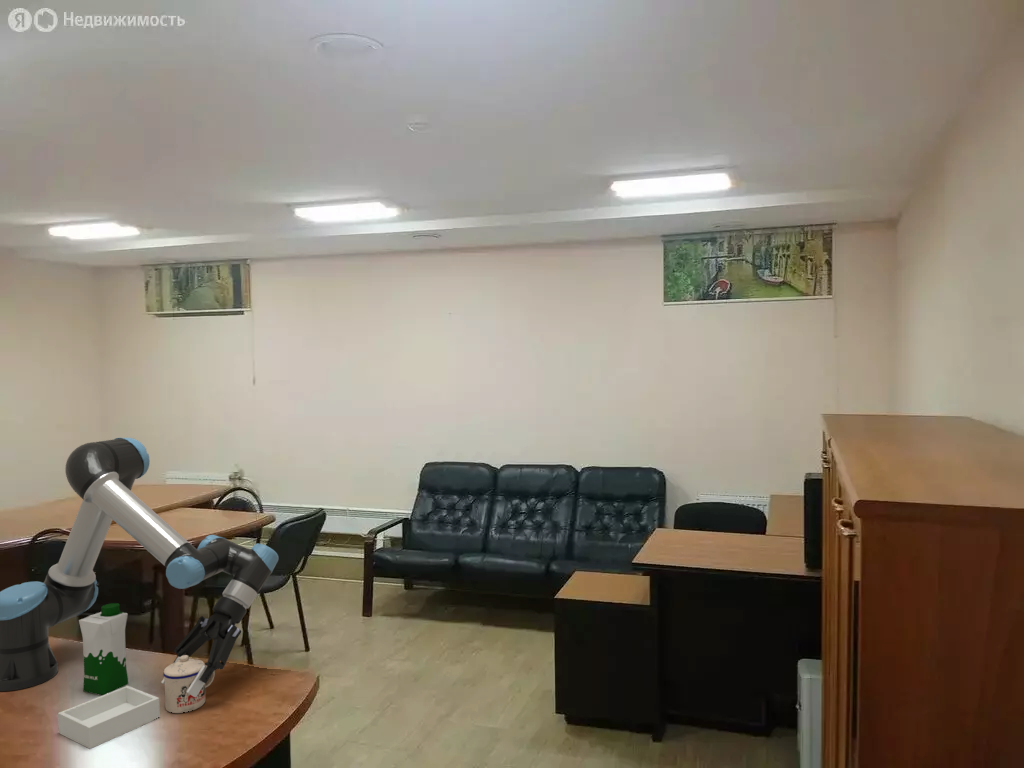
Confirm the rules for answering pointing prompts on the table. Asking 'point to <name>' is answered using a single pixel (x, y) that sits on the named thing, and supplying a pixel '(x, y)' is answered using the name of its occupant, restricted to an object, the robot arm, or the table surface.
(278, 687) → the table surface
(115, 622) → the milk carton
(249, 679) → the table surface
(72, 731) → the white rectangular tray
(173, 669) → the teacup with lid
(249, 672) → the table surface
